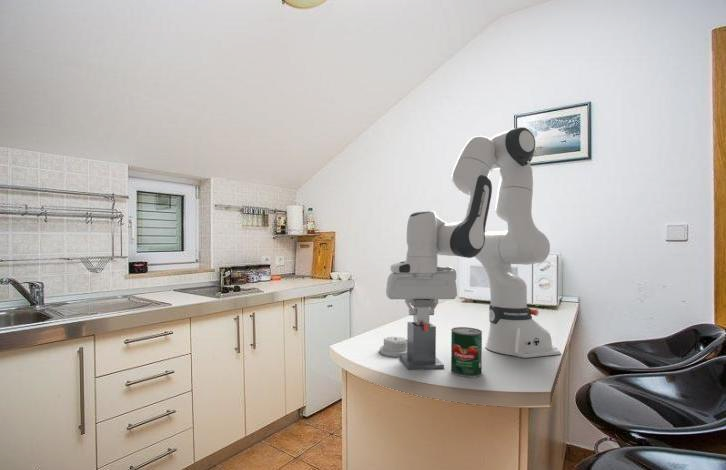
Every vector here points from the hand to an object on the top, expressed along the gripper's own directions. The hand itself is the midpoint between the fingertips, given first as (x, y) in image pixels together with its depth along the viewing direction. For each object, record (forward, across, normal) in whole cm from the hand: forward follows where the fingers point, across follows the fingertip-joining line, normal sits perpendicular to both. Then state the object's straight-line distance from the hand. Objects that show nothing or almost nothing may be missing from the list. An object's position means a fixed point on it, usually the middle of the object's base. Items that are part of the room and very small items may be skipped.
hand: (421, 314), depth 100 cm
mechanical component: (+14, +5, -11) cm, 19 cm away
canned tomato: (+14, -10, +8) cm, 19 cm away
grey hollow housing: (+14, 0, 0) cm, 14 cm away
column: (+12, 0, 0) cm, 12 cm away
